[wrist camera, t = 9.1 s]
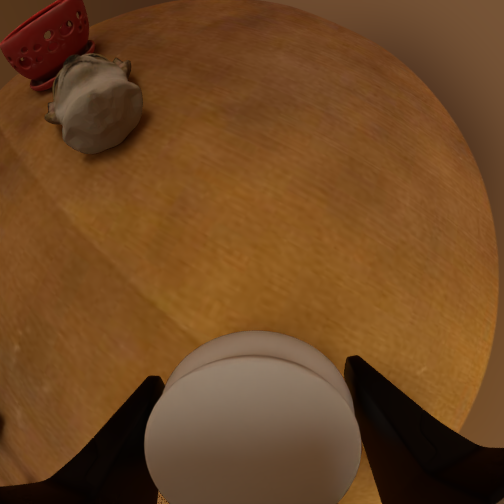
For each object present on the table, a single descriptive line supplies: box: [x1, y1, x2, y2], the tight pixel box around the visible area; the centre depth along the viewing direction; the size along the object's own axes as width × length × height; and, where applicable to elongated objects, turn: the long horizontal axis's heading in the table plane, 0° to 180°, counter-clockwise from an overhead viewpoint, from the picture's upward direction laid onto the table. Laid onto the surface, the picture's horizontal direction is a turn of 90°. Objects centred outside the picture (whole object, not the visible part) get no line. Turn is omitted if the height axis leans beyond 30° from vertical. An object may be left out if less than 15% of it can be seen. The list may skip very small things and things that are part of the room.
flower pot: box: [0, 0, 95, 91], centre depth 23 cm, size 13×13×12 cm
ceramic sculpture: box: [45, 53, 143, 154], centre depth 19 cm, size 11×9×15 cm
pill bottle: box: [144, 331, 361, 504], centre depth 10 cm, size 6×6×11 cm
